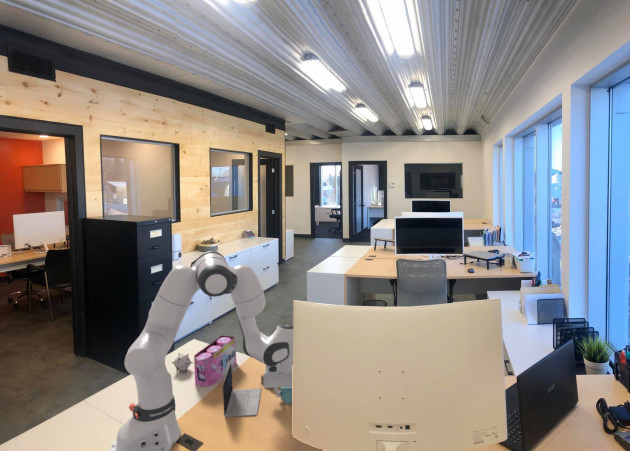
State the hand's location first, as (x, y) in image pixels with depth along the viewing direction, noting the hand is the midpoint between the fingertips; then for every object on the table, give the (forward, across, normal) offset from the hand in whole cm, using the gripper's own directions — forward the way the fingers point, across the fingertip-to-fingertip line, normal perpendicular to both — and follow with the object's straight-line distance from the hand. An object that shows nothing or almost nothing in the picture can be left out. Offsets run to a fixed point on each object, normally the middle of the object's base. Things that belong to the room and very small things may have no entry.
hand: (289, 395), depth 155 cm
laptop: (+2, +18, 0) cm, 18 cm away
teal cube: (+2, 0, 0) cm, 2 cm away
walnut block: (+2, +8, -13) cm, 15 cm away
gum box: (+2, +34, -24) cm, 42 cm away
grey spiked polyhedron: (+2, +51, -28) cm, 58 cm away
